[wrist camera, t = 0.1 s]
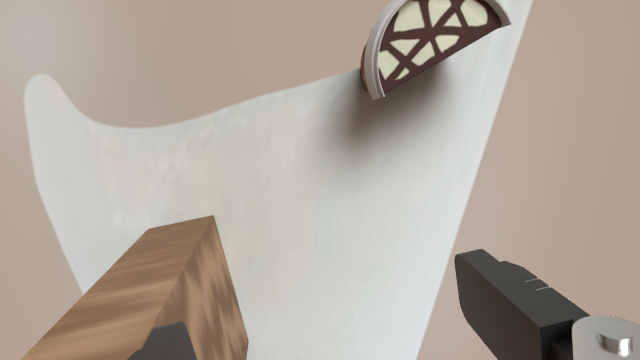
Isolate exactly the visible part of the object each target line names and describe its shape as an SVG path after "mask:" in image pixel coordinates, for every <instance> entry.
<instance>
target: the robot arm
mask: <svg viewBox="0 0 640 360" xmlns="http://www.w3.org/2000/svg"><path fill="white" fill-rule="evenodd" d="M455 270H456V277H457V285H458V293H459V301H460V306H461V309H462V312H463V314H464V317H465V318H466V320H467V322H468V323H469V325H470V326H471V327H472V328H473V330H474V331H475V332H476V333H477V334H478V336H479V337H480V338H481V339H482V341H483V342H484V343H485V344H486V346H487V347H488V348H489V349H490V350H491V352H492V353H493V354H494V355H495V357H496V358H497V359H498V360H640V325H638V324H636V323H634V322H631V321H628V320H625V319H621V318H618V317H612V316H604V315H596V316H590V315H589V314H587V313H586V312H585V311H583V310H582V309H581V308H579V307H578V306H576V305H575V304H574V303H572V302H571V301H569V300H568V299H567V298H565V297H564V296H562V295H561V294H560V293H558V292H557V291H556V290H554V289H553V288H549V286H548V285H547V284H546V283H544V282H543V281H542V280H540V279H537V277H536V276H535V275H533V274H532V273H531V272H529V271H528V270H526V269H525V268H524V267H521V266H518V265H515V264H512V263H509V262H507V261H502V262H499V261H498V260H496V259H495V258H494V257H493V256H491V255H490V254H489V253H487V252H486V251H485V250H483V249H478V250H474V251H469V252H465V253H461V254H457V255H456V256H455ZM127 360H197V357H196V354H195V351H194V348H193V345H192V342H191V339H190V336H189V333H188V330H187V327H186V325H185V324H184V323H183V322H182V321H180V322H175V323H171V324H167V325H163V326H159V327H155V328H153V329H152V331H151V332H150V334H149V336H148V338H147V340H146V342H145V343H144V345H143V347H142V349H141V350H137V351H135V352H134V353H133V354H132V355H131V356H130V357H129V358H128V359H127Z"/></svg>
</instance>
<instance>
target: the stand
mask: <svg viewBox="0 0 640 360" xmlns="http://www.w3.org/2000/svg"><path fill="white" fill-rule="evenodd" d="M180 321H182V322H183V323H184V324H185V325H186V327H187V330H188V333H189V336H190V339H191V342H192V345H193V348H194V351H195V354H196V357H197V360H246V356H247V349H248V337H247V334H246V330H245V327H244V323H243V319H242V316H241V312H240V309H239V305H238V301H237V298H236V294H235V291H234V287H233V284H232V280H231V276H230V273H229V269H228V266H227V262H226V258H225V255H224V251H223V248H222V244H221V241H220V237H219V233H218V230H217V226H216V223H215V219H214V215H212V216H208V217H203V218H198V219H194V220H189V221H184V222H179V223H175V224H170V225H165V226H161V227H156V228H151V229H148V230H147V231H146V232H145V233H144V234H143V235H142V236H141V237H140V238H139V239H138V240H137V241H136V242H135V243H134V244H133V245H132V246H131V247H130V248H129V249H128V250H127V251H126V252H125V253H124V255H123V256H122V257H121V258H120V259H119V260H118V261H117V262H116V263H115V264H114V265H113V266H112V267H111V268H110V269H109V270H108V271H107V272H106V273H105V274H104V275H103V276H102V277H101V278H100V279H99V280H98V281H97V282H96V283H95V284H94V285H93V286H92V287H91V288H90V289H89V290H88V291H87V292H86V293H85V294H84V295H83V296H82V297H81V299H80V300H79V301H78V302H77V303H76V304H75V305H74V306H73V307H72V308H71V309H70V310H69V311H68V312H67V313H66V314H65V315H64V316H63V317H62V318H61V319H60V320H59V321H58V322H57V323H56V324H55V325H54V326H53V327H52V328H51V329H50V330H49V331H48V332H47V333H46V334H45V335H44V336H43V338H41V339H40V340H39V342H38V343H37V344H36V345H35V346H34V347H33V348H32V349H31V350H30V351H29V352H28V353H27V354H26V355H25V356H24V357H23V358H22V359H21V360H127V359H128V358H129V357H130V356H131V355H132V354H133V353H134V352H135V351H137V350H141V349H142V347H143V345H144V343H145V342H146V340H147V338H148V336H149V334H150V332H151V331H152V329H153V328H155V327H159V326H163V325H167V324H171V323H175V322H180Z"/></svg>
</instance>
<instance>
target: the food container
mask: <svg viewBox="0 0 640 360" xmlns="http://www.w3.org/2000/svg"><path fill="white" fill-rule="evenodd" d="M510 24H512V22H511V20H510V18H509V16H508V14H507V13H506V11H505V10H504V8H503V7H502V5H501V4H500V3H499V2H498V1H497V0H393V1H392V2H391V3H390V4H389V5H388V6H387V7H386V8H385V9H384V10H383V12H382V13H381V14H380V16H379V17H378V19H377V20H376V22H375V24H374V26H373V28H372V30H371V33H370V36H369V38H368V41H367V44H366V45H365V48H364V50H363V54H362V59H361V77H362V81H363V84H364V87H365V89H366V91H367V92H369V93H370V96H371V98H372V100H376V99H380V98H382V97H385V95H384V94H385V93H387V92H388V91H391V90H392V89H394V88H395V87H397V86H398V85H400V84H402V83H403V82H405V81H407V80H409V79H410V78H412V77H414V76H416V75H417V74H419V73H421V72H423V71H424V70H426V69H428V68H430V67H432V66H433V65H435V64H437V63H439V62H441V61H442V60H444V59H446V58H448V57H449V56H451V55H452V54H454V53H456V52H457V51H459V50H461V49H463V48H464V47H466V46H468V45H470V44H471V43H473V42H475V41H476V40H478V39H480V38H482V37H483V36H485V35H487V34H489V33H490V32H492V31H494V30H495V29H498V28H501V27H504V26H507V25H510Z"/></svg>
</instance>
